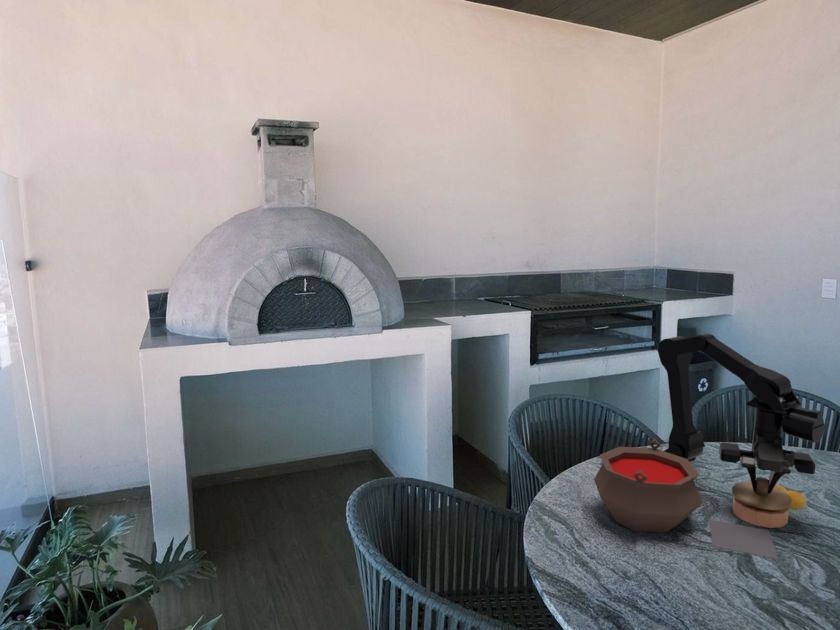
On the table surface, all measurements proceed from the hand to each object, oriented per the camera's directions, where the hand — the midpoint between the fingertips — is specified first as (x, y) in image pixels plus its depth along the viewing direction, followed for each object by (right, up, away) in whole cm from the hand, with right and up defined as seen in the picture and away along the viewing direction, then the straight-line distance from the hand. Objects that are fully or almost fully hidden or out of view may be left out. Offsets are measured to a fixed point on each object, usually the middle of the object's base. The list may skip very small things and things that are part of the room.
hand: (761, 491), depth 135 cm
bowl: (0, -7, +1) cm, 7 cm away
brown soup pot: (-27, -7, +1) cm, 28 cm away
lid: (0, -1, 0) cm, 1 cm away
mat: (-10, -8, -9) cm, 15 cm away
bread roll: (+11, -6, +8) cm, 15 cm away
